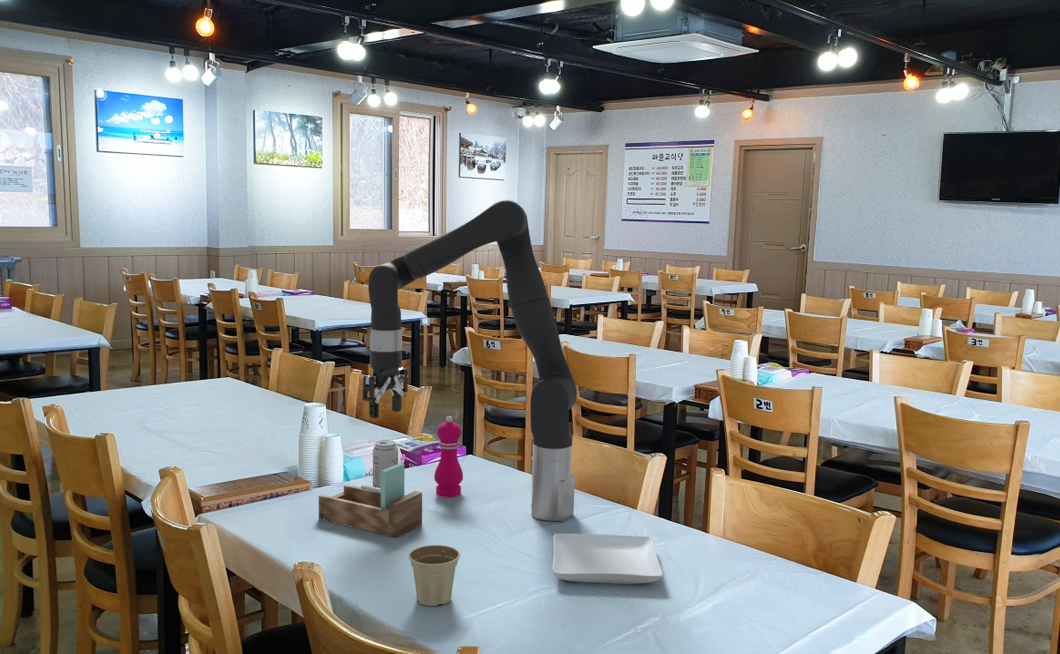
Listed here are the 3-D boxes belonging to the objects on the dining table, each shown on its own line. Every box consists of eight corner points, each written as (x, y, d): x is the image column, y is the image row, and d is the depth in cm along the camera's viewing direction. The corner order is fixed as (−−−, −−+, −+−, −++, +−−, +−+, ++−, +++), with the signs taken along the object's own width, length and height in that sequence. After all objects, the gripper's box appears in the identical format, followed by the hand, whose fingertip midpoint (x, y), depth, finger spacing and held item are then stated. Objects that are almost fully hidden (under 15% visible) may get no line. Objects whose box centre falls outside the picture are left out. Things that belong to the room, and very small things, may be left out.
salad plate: (552, 546, 184) (553, 531, 183) (651, 549, 183) (652, 534, 183) (551, 589, 163) (552, 572, 162) (663, 593, 162) (664, 575, 162)
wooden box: (422, 524, 194) (422, 492, 193) (396, 537, 186) (396, 504, 185) (346, 506, 204) (346, 476, 203) (318, 518, 196) (318, 487, 195)
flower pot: (409, 588, 161) (409, 544, 160) (459, 587, 162) (460, 544, 161) (406, 611, 152) (406, 564, 150) (459, 610, 152) (460, 564, 151)
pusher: (404, 515, 194) (404, 464, 193) (385, 524, 188) (385, 471, 187) (372, 507, 199) (372, 457, 197) (352, 516, 193) (352, 465, 191)
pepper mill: (458, 499, 212) (459, 420, 209) (430, 496, 213) (430, 418, 210) (466, 490, 219) (467, 413, 216) (439, 487, 220) (439, 411, 217)
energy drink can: (395, 507, 205) (395, 446, 203) (370, 506, 205) (370, 445, 203) (399, 499, 211) (400, 439, 209) (375, 498, 211) (375, 439, 209)
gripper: (379, 353, 195) (379, 422, 197) (416, 345, 207) (416, 411, 209) (353, 350, 198) (353, 418, 200) (391, 342, 211) (391, 407, 213)
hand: (385, 414), depth 205 cm, fingers open, 8 cm apart
